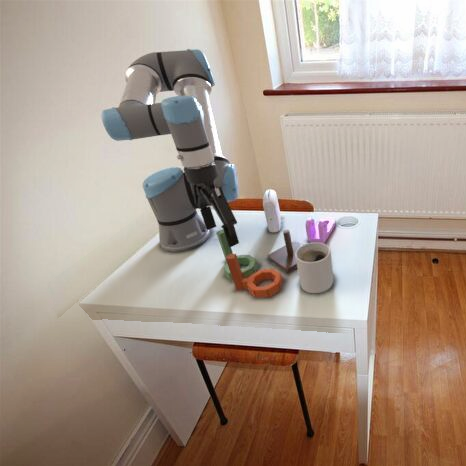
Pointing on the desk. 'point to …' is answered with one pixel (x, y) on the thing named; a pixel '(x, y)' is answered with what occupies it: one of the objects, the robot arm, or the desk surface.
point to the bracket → (319, 229)
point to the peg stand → (285, 254)
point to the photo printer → (272, 211)
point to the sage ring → (241, 258)
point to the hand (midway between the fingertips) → (222, 236)
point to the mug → (314, 267)
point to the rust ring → (254, 279)
